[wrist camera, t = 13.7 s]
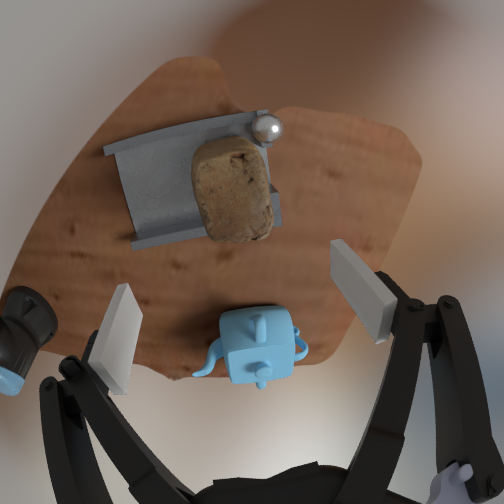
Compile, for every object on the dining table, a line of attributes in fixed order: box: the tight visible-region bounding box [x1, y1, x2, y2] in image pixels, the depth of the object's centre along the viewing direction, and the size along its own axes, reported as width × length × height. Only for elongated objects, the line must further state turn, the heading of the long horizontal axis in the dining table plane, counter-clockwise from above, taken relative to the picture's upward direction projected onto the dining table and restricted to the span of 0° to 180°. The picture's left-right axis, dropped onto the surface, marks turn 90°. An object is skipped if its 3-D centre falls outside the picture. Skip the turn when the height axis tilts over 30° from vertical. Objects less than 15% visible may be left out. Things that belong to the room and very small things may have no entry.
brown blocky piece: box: [191, 136, 274, 243], centre depth 32 cm, size 11×8×20 cm
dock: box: [103, 110, 284, 251], centre depth 37 cm, size 25×17×10 cm
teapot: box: [192, 306, 308, 389], centre depth 51 cm, size 18×16×14 cm
